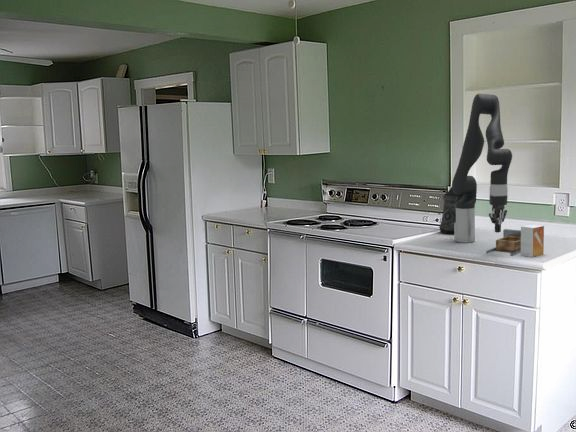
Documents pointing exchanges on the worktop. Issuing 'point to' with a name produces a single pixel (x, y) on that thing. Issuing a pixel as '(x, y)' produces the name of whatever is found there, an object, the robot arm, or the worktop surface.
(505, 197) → the robot arm
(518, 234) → the backstop track
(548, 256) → the worktop surface
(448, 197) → the beer stein
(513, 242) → the socket block
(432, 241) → the worktop surface
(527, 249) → the small box
